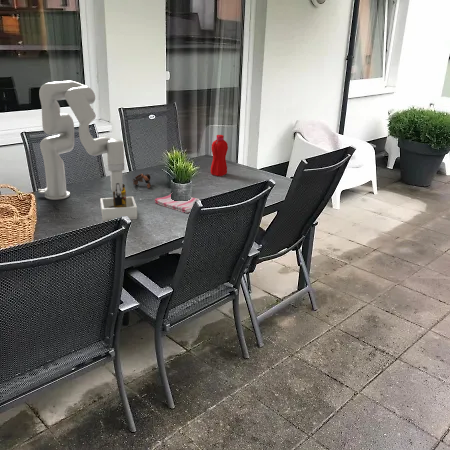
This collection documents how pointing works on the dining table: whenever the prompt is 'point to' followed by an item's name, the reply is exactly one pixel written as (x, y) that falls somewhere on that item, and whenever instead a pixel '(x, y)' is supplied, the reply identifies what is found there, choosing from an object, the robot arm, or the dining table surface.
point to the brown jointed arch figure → (140, 179)
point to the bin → (118, 209)
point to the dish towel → (176, 203)
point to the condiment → (123, 195)
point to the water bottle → (219, 156)
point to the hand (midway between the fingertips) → (118, 202)
